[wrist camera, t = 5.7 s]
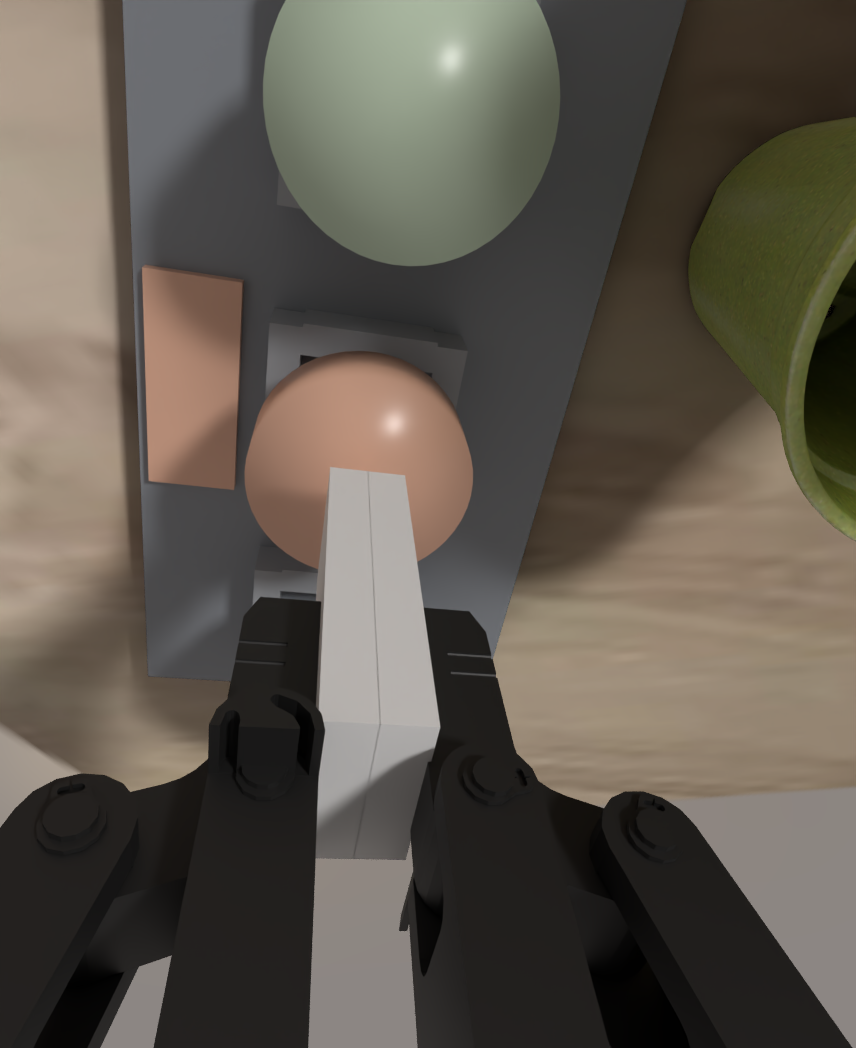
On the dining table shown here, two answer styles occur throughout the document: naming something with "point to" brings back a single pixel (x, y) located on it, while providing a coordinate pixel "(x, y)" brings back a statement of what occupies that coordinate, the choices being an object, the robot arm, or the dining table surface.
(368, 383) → the button terracotta
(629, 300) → the dining table surface
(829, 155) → the plant pot
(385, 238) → the button sage
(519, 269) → the console
